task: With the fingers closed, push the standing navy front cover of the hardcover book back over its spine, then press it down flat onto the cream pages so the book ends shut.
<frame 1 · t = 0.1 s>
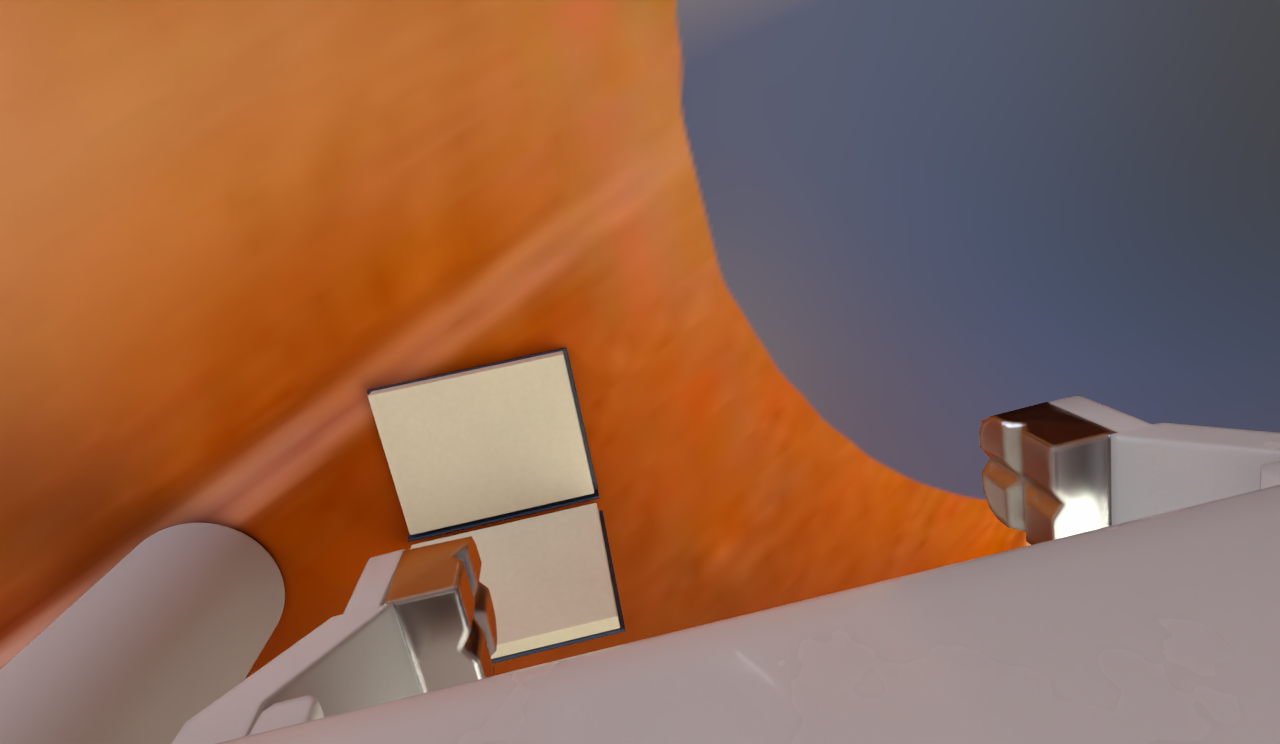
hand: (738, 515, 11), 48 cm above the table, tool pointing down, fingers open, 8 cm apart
book: (487, 443, 61), on the table
cylinder vase: (209, 586, 61), on the table
book cover: (508, 583, 56), point 8 cm above the table, hinge at 105.0°
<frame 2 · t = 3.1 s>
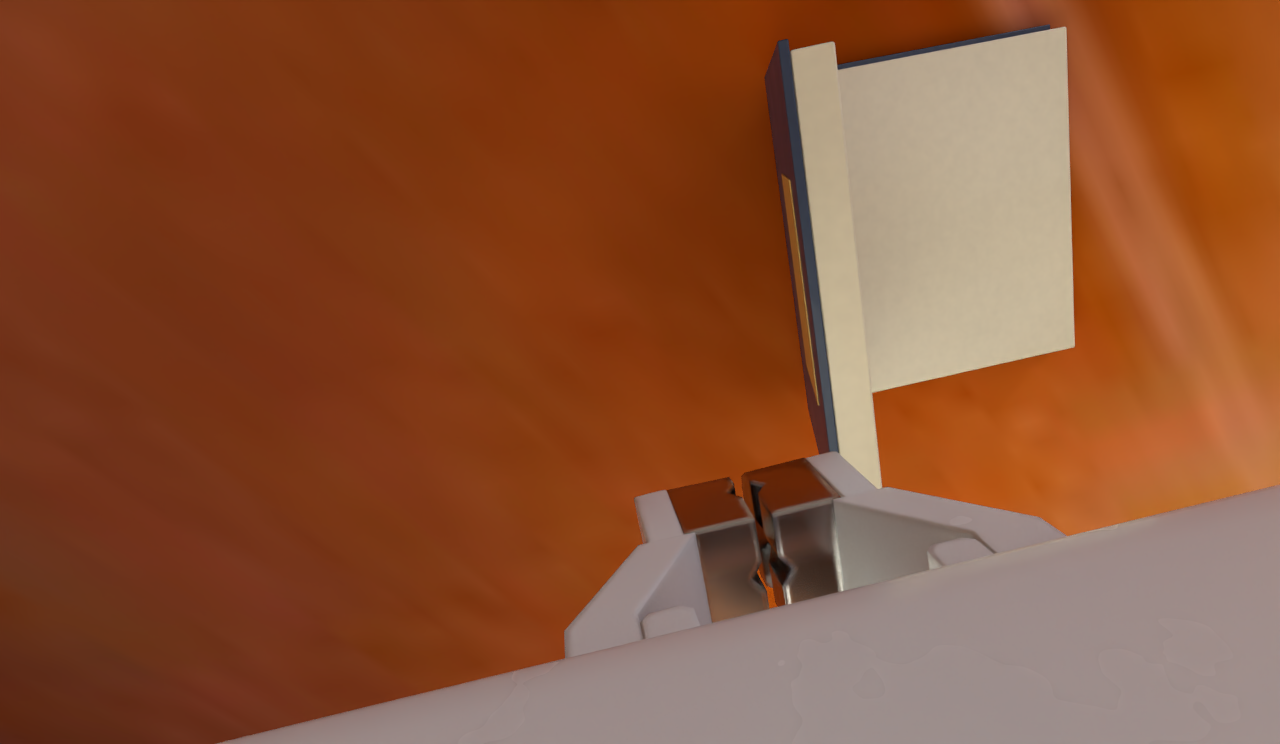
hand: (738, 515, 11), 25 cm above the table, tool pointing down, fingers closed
book: (929, 220, 37), on the table
book cover: (817, 274, 29), point 8 cm above the table, hinge at 105.0°
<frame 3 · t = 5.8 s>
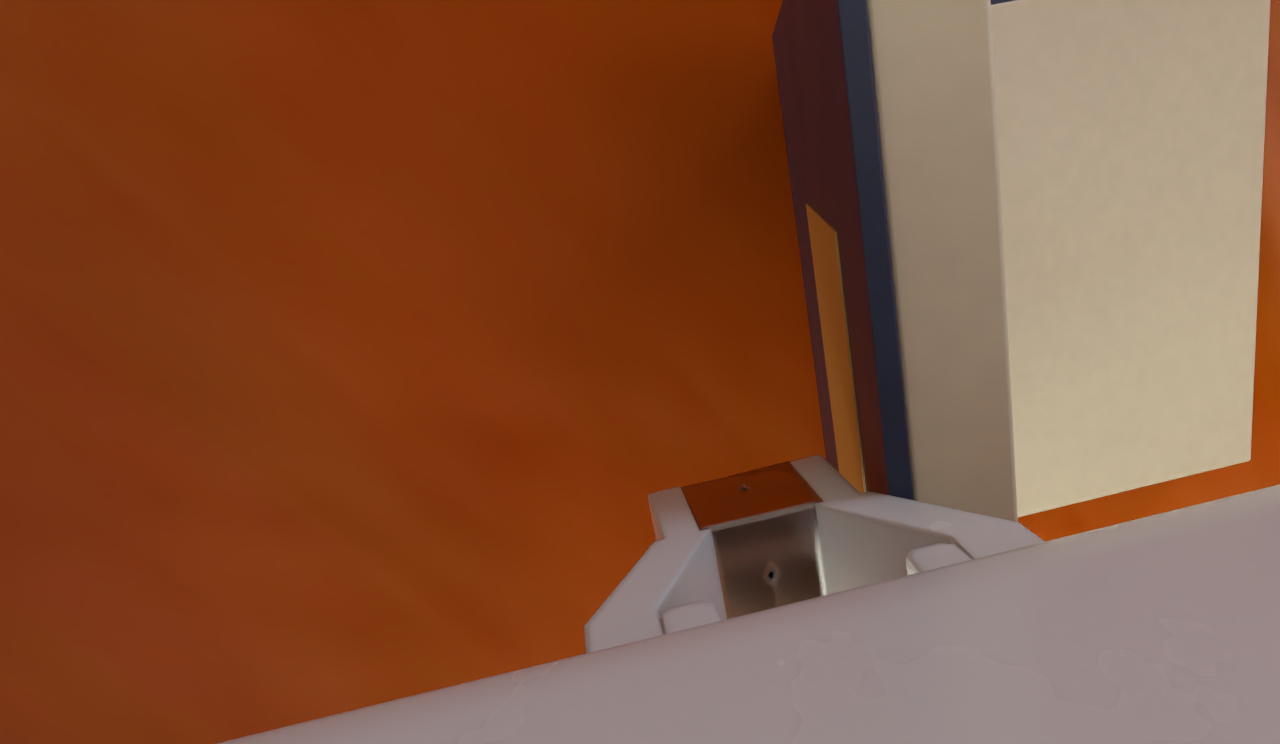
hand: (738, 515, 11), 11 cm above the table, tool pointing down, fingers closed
book: (1029, 267, 23), on the table
book cover: (873, 393, 15), point 8 cm above the table, hinge at 105.0°, touching gripper
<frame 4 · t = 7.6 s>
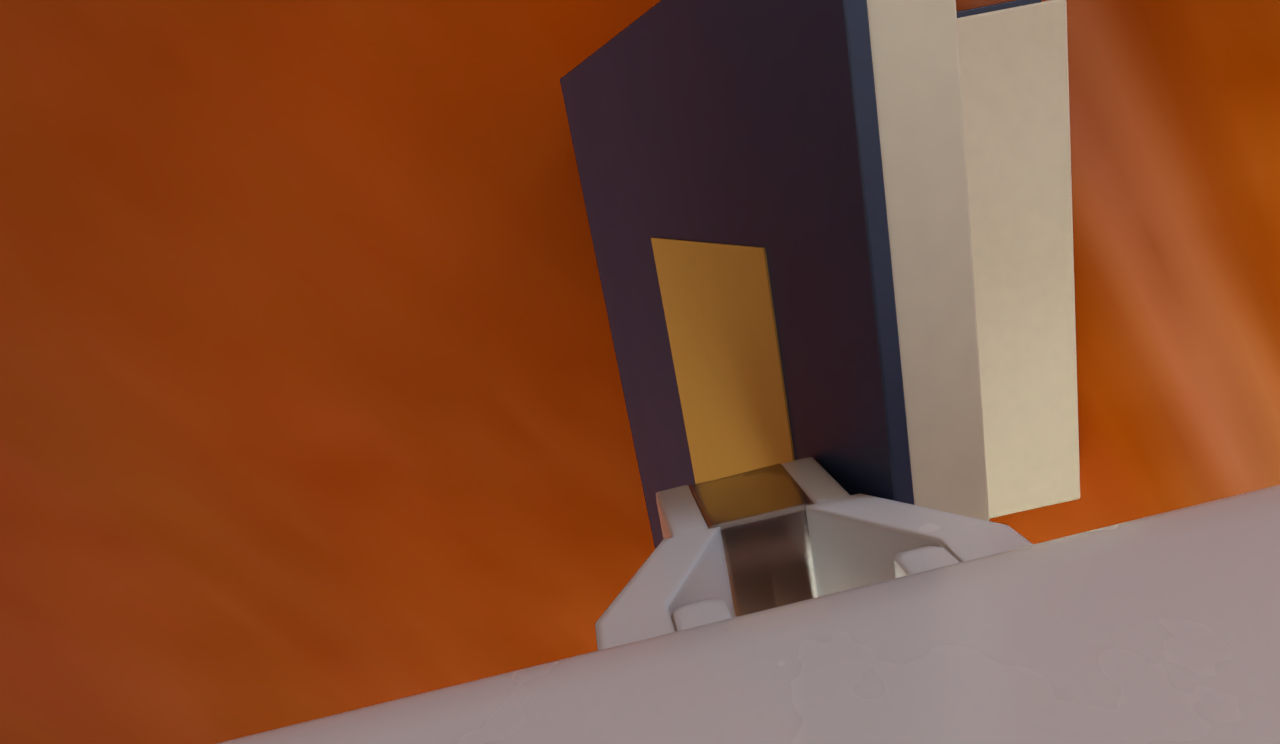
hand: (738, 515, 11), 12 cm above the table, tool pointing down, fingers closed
book: (850, 304, 24), on the table
book cover: (738, 418, 16), point 8 cm above the table, hinge at 76.4°, touching gripper
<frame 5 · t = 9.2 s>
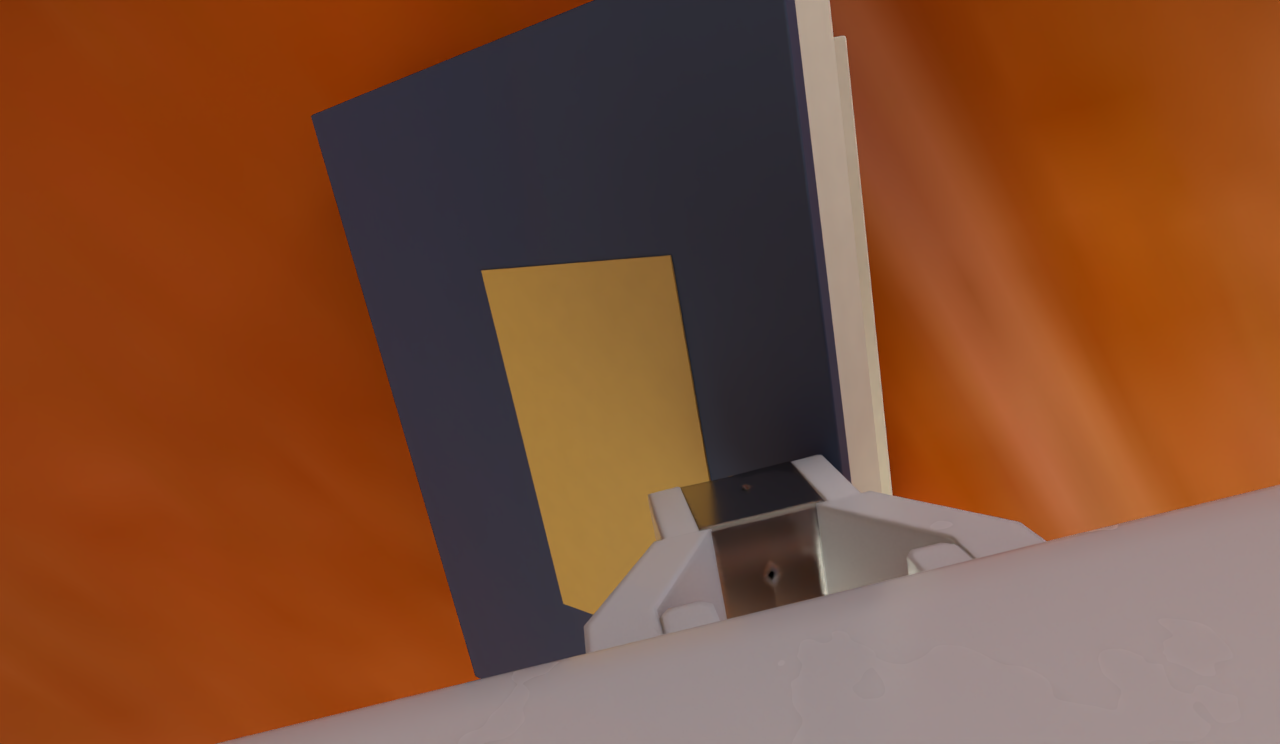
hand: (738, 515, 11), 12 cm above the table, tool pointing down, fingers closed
book: (654, 347, 23), on the table
book cover: (588, 439, 16), point 7 cm above the table, hinge at 46.8°, touching gripper
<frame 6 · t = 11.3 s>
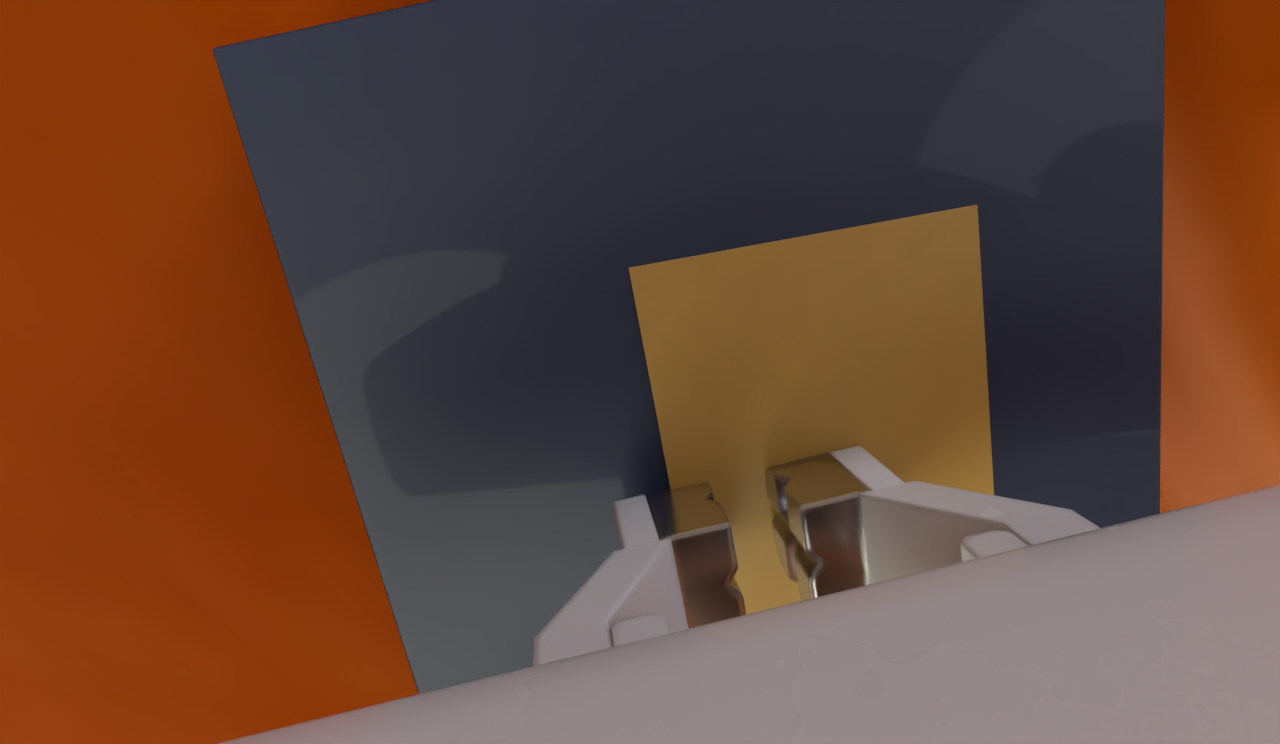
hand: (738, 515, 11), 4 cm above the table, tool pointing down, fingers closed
book cover: (745, 479, 13), point 3 cm above the table, hinge at 8.5°, touching gripper
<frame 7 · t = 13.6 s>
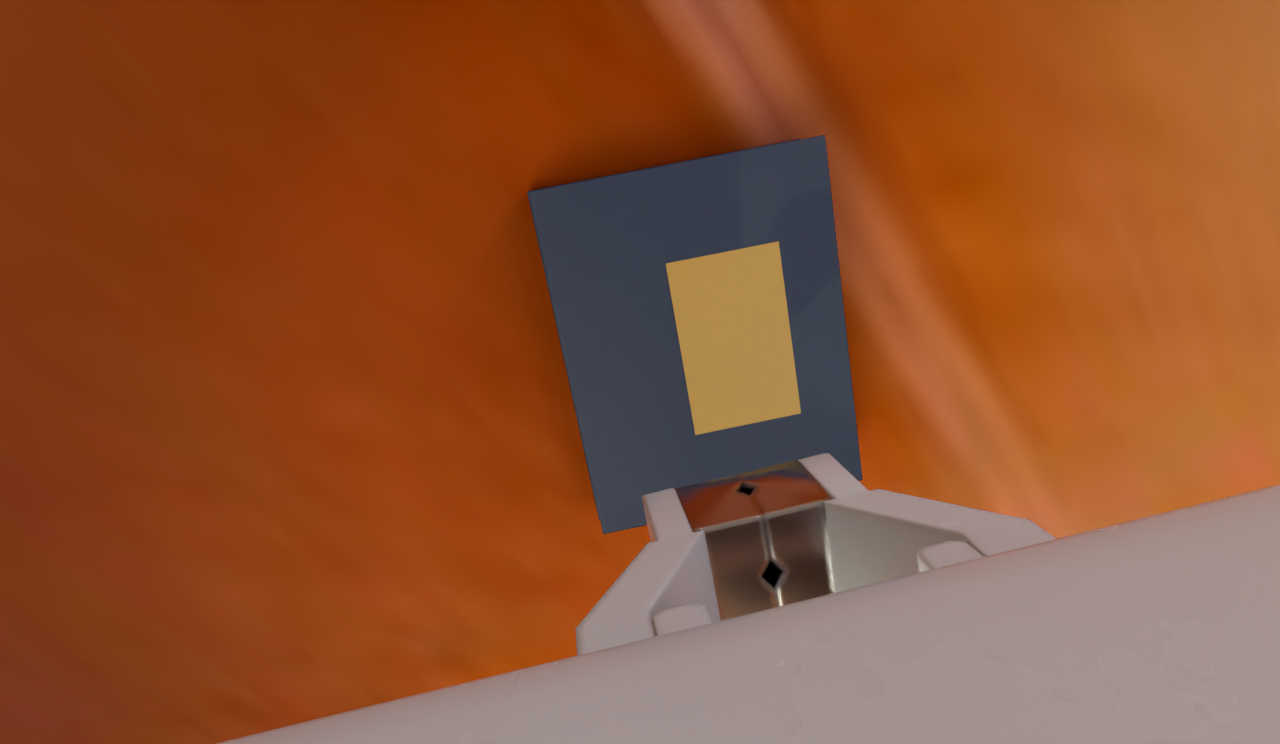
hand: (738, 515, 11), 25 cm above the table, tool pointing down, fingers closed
book: (689, 331, 36), on the table
book cover: (704, 342, 34), point 3 cm above the table, hinge at 1.9°
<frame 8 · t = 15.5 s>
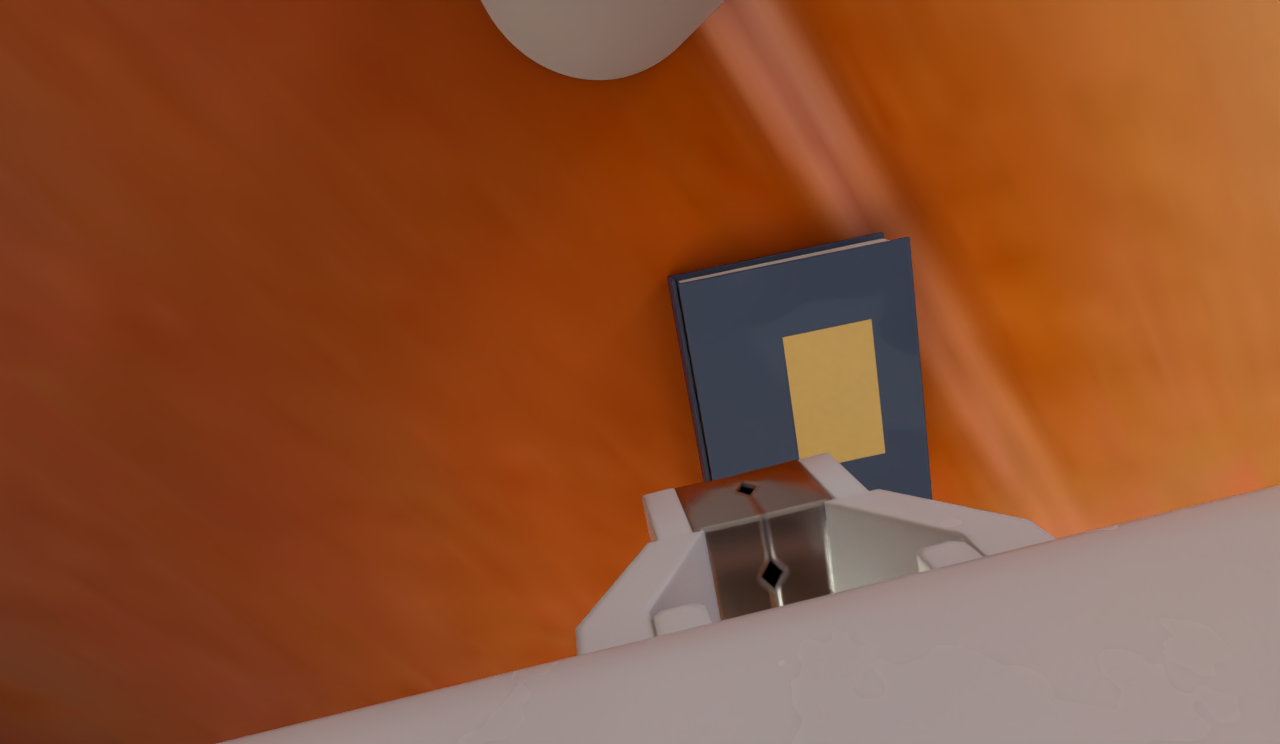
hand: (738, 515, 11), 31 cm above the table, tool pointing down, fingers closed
book: (790, 385, 45), on the table
book cover: (808, 397, 42), point 3 cm above the table, hinge at 1.9°
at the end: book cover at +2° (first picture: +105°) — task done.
